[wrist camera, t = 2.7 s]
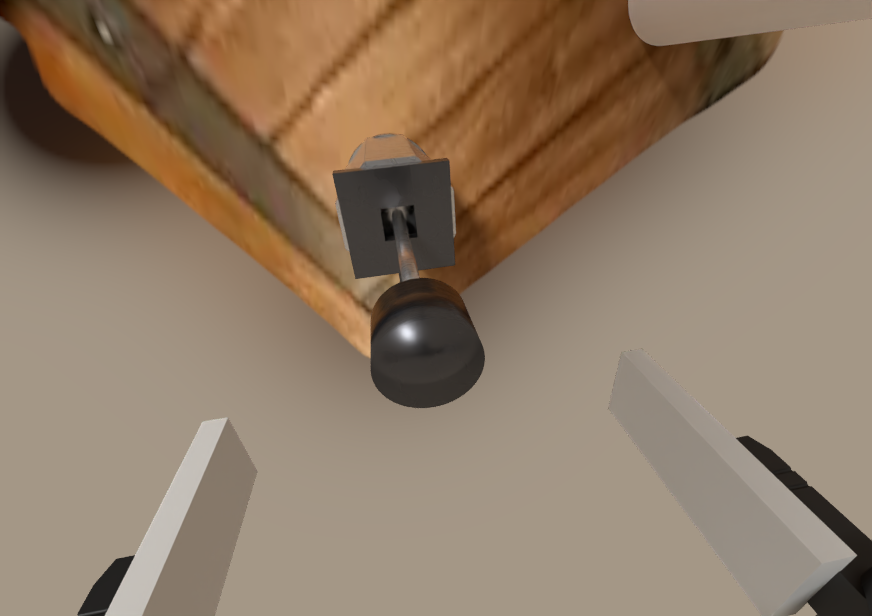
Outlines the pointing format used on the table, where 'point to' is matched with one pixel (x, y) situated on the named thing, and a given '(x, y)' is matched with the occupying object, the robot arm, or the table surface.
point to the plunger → (421, 331)
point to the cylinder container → (735, 17)
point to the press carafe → (395, 205)
